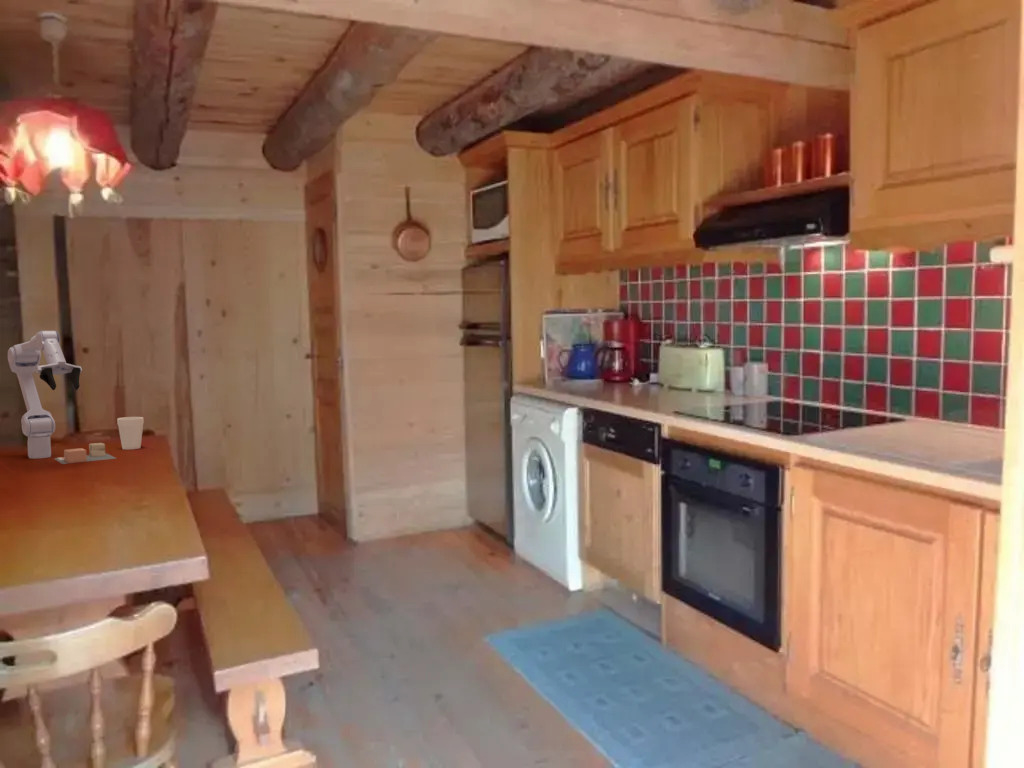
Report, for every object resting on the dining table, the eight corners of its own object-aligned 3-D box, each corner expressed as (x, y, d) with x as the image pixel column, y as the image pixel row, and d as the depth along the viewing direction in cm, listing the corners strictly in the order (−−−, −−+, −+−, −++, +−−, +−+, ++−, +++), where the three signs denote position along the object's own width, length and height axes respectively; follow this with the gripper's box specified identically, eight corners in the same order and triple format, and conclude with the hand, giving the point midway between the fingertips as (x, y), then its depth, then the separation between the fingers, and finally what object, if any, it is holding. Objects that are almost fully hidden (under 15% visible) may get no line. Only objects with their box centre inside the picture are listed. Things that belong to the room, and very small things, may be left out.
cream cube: (89, 455, 301) (88, 443, 300) (102, 454, 304) (101, 442, 303) (92, 456, 297) (91, 445, 297) (105, 455, 300) (104, 444, 300)
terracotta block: (64, 460, 289) (63, 449, 289) (82, 458, 293) (82, 448, 293) (68, 463, 285) (67, 451, 284) (86, 461, 289) (86, 450, 288)
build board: (53, 461, 294) (53, 458, 294) (106, 455, 305) (106, 453, 305) (62, 466, 283) (62, 463, 283) (117, 460, 295) (116, 458, 295)
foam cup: (120, 449, 321) (119, 417, 320) (145, 448, 324) (144, 416, 323) (116, 453, 312) (115, 420, 311) (142, 451, 315) (141, 419, 314)
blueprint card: (56, 458, 294) (56, 457, 294) (77, 456, 299) (77, 455, 299) (60, 460, 290) (60, 459, 290) (81, 458, 294) (81, 457, 294)
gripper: (36, 350, 274) (47, 380, 269) (80, 351, 286) (91, 380, 281) (29, 363, 278) (40, 393, 273) (73, 364, 289) (84, 393, 284)
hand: (66, 388), depth 277 cm, fingers open, 7 cm apart
